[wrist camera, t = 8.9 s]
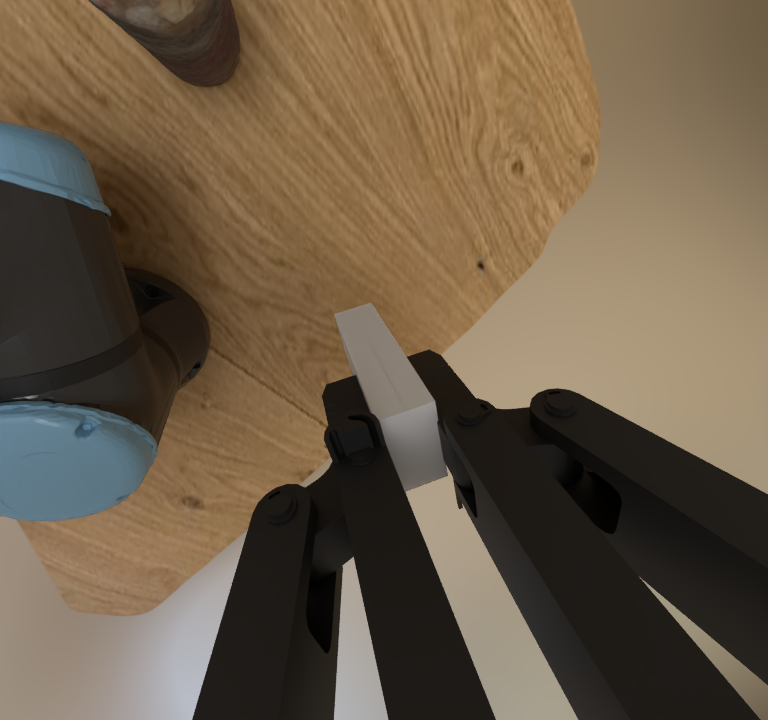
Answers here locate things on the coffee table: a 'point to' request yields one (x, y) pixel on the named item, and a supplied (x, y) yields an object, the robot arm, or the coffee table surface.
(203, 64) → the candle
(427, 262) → the coffee table surface
